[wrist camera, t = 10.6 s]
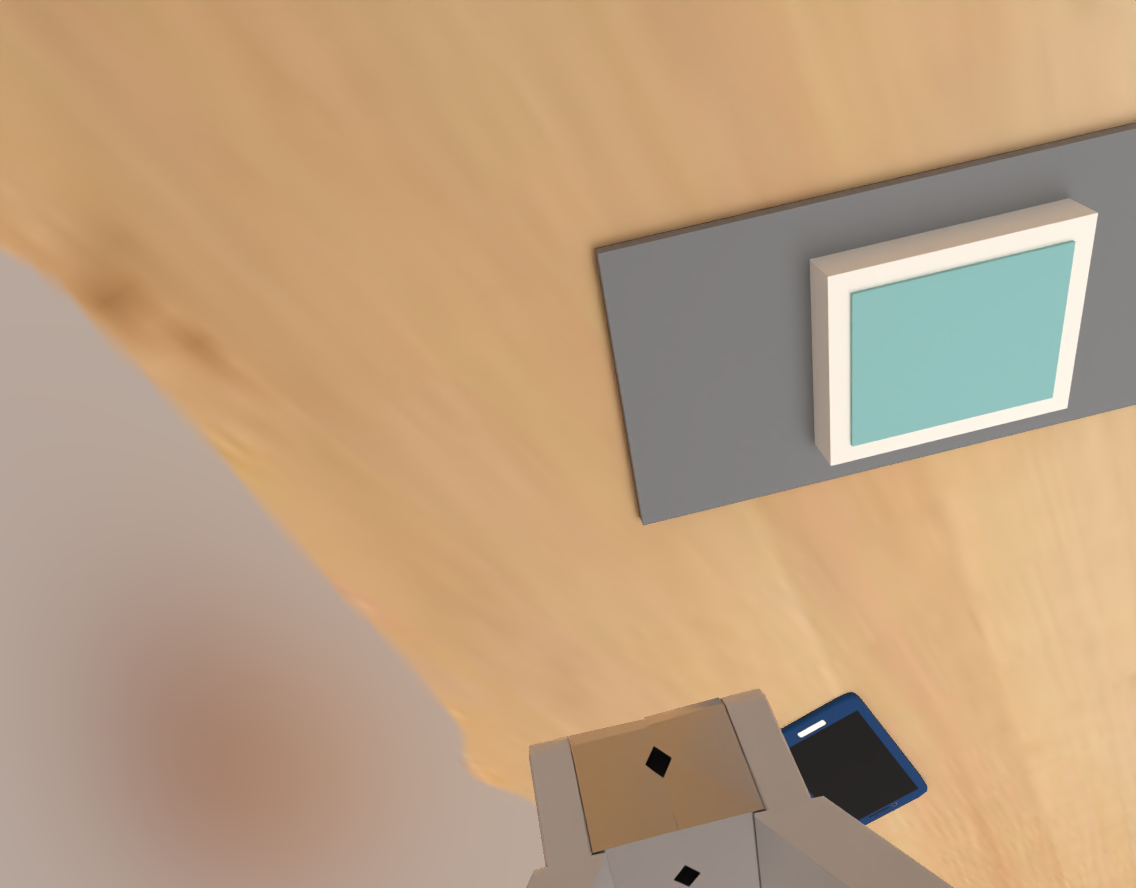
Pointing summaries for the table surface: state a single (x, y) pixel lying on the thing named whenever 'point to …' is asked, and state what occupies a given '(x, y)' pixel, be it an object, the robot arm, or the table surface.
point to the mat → (783, 319)
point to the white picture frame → (948, 329)
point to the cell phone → (852, 760)
